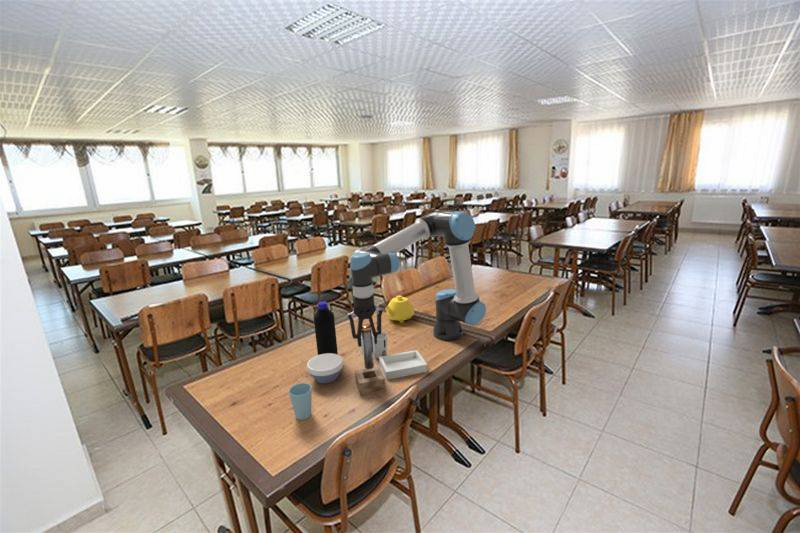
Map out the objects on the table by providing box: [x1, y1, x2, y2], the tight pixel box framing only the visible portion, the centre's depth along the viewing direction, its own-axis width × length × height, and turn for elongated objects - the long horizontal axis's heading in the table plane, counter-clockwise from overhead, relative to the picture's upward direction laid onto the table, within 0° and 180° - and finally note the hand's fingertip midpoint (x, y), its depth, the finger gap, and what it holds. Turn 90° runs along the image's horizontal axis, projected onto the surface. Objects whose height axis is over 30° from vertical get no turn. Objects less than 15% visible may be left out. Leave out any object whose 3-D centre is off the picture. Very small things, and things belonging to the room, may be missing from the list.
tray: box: [378, 349, 428, 380], centre depth 159 cm, size 18×14×3 cm
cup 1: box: [288, 382, 312, 421], centre depth 130 cm, size 8×8×10 cm
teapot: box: [385, 295, 415, 324], centre depth 209 cm, size 20×16×14 cm
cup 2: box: [371, 331, 388, 359], centre depth 170 cm, size 8×8×10 cm
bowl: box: [306, 353, 344, 384], centre depth 154 cm, size 14×14×8 cm
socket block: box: [354, 365, 386, 396], centre depth 147 cm, size 10×10×5 cm
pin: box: [361, 323, 375, 369], centre depth 143 cm, size 5×5×17 cm
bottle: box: [313, 300, 339, 355], centre depth 165 cm, size 9×9×28 cm
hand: (368, 352), depth 144 cm, fingers closed on pin, 3 cm apart
